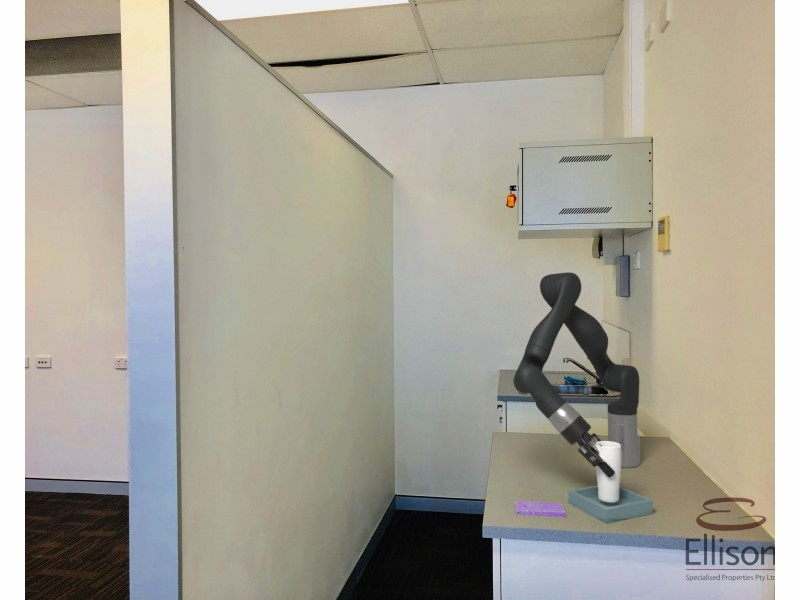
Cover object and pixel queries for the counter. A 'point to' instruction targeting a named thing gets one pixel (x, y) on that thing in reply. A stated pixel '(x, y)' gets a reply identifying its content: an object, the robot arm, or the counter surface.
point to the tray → (610, 504)
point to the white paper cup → (613, 458)
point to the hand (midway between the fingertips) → (614, 471)
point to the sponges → (540, 508)
